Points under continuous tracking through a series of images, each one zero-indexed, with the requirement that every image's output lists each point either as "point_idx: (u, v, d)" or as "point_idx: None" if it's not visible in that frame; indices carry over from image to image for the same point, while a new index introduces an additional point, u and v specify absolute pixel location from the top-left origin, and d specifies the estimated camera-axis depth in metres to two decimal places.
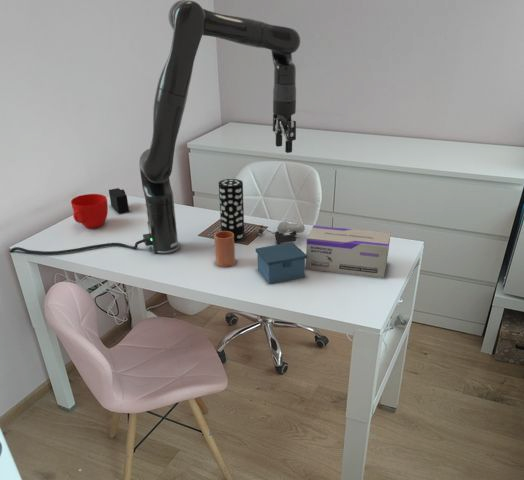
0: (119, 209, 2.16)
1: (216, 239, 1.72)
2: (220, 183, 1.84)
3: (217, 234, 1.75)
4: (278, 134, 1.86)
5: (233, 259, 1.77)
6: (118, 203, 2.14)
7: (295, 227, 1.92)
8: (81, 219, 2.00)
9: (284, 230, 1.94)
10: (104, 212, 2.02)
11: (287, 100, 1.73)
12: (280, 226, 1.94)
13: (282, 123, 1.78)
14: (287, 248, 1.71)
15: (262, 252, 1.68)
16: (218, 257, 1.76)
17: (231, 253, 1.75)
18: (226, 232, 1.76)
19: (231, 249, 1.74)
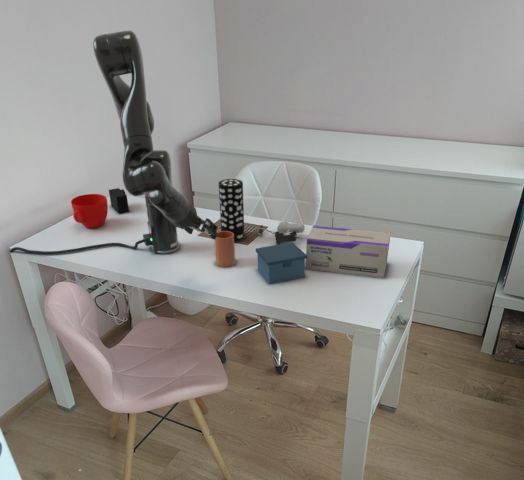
0: (119, 209, 2.16)
1: (216, 239, 1.72)
2: (220, 183, 1.84)
3: None
4: None
5: (233, 259, 1.77)
6: (118, 203, 2.14)
7: (295, 227, 1.92)
8: (81, 219, 2.00)
9: (284, 230, 1.94)
10: (104, 212, 2.02)
11: (187, 213, 1.47)
12: (280, 226, 1.94)
13: (193, 226, 1.54)
14: (287, 248, 1.71)
15: (262, 252, 1.68)
16: (218, 257, 1.76)
17: (231, 253, 1.75)
18: (226, 232, 1.76)
19: (231, 249, 1.74)
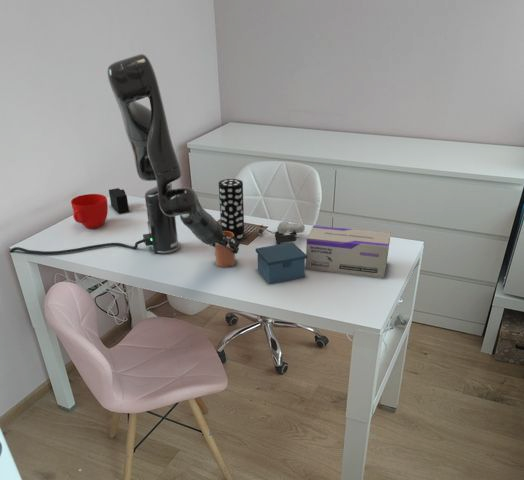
0: (119, 209, 2.16)
1: None
2: (220, 183, 1.84)
3: None
4: None
5: (233, 259, 1.77)
6: (118, 203, 2.14)
7: (295, 227, 1.92)
8: (81, 219, 2.00)
9: (284, 230, 1.94)
10: (104, 212, 2.02)
11: (215, 231, 1.61)
12: (280, 226, 1.94)
13: (219, 243, 1.68)
14: (287, 248, 1.71)
15: (262, 252, 1.68)
16: (218, 257, 1.76)
17: (231, 253, 1.75)
18: (226, 232, 1.76)
19: None
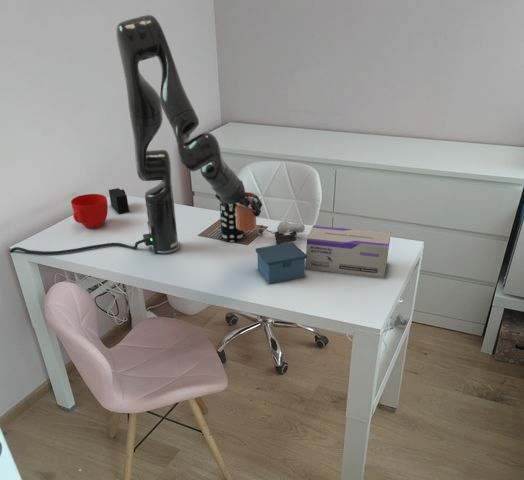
0: (119, 209, 2.16)
1: None
2: None
3: None
4: (234, 204, 1.65)
5: (254, 222, 1.66)
6: (118, 203, 2.14)
7: (295, 227, 1.92)
8: (81, 219, 2.00)
9: (284, 230, 1.94)
10: (104, 212, 2.02)
11: (237, 188, 1.50)
12: (280, 226, 1.94)
13: (241, 202, 1.57)
14: (287, 248, 1.71)
15: (262, 252, 1.68)
16: (239, 220, 1.64)
17: (253, 215, 1.64)
18: (247, 193, 1.65)
19: None
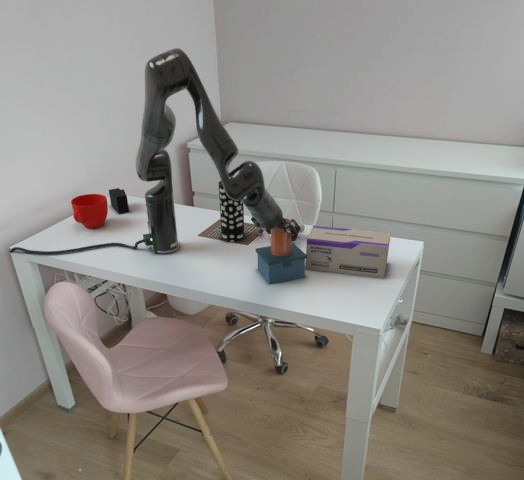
0: (119, 209, 2.16)
1: None
2: (220, 183, 1.84)
3: None
4: None
5: (289, 248, 1.66)
6: (118, 203, 2.14)
7: None
8: (81, 219, 2.00)
9: None
10: (104, 212, 2.02)
11: (276, 214, 1.50)
12: None
13: (278, 227, 1.57)
14: None
15: (262, 252, 1.68)
16: (274, 246, 1.65)
17: (288, 241, 1.64)
18: None
19: (288, 237, 1.63)
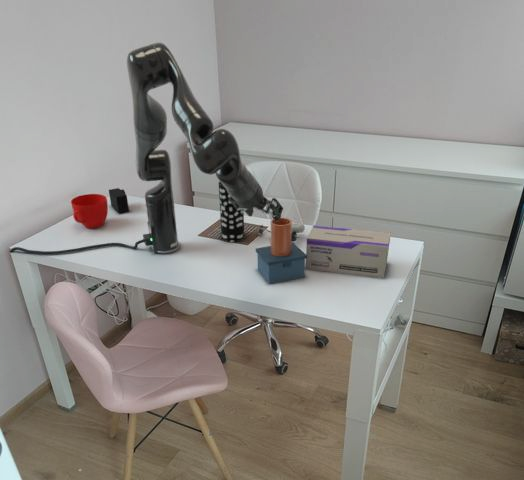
0: (119, 209, 2.16)
1: (273, 226, 1.61)
2: (220, 183, 1.84)
3: (273, 221, 1.64)
4: None
5: (289, 248, 1.66)
6: (118, 203, 2.14)
7: (295, 227, 1.92)
8: (81, 219, 2.00)
9: None
10: (104, 212, 2.02)
11: (255, 191, 1.36)
12: None
13: (258, 207, 1.43)
14: None
15: (262, 252, 1.68)
16: (274, 246, 1.65)
17: (288, 241, 1.64)
18: (282, 219, 1.65)
19: (288, 237, 1.63)
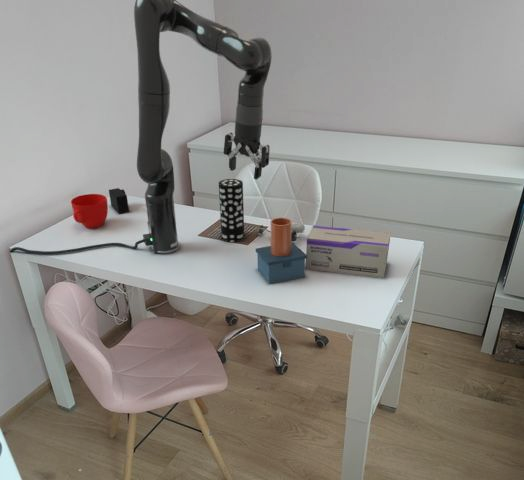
0: (119, 209, 2.16)
1: (273, 226, 1.61)
2: (220, 183, 1.84)
3: (273, 221, 1.64)
4: (233, 157, 1.61)
5: (289, 248, 1.66)
6: (118, 203, 2.14)
7: (295, 227, 1.92)
8: (81, 219, 2.00)
9: None
10: (104, 212, 2.02)
11: (259, 123, 1.50)
12: None
13: (250, 148, 1.54)
14: None
15: (262, 252, 1.68)
16: (274, 246, 1.65)
17: (288, 241, 1.64)
18: (282, 219, 1.65)
19: (288, 237, 1.63)
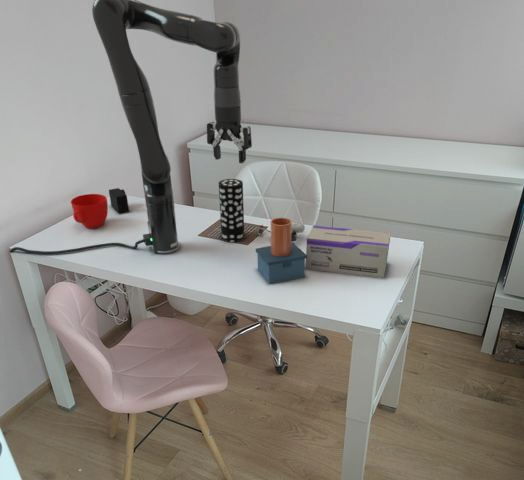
0: (119, 209, 2.16)
1: (273, 226, 1.61)
2: (220, 183, 1.84)
3: (273, 221, 1.64)
4: (217, 145, 1.63)
5: (289, 248, 1.66)
6: (118, 203, 2.14)
7: (295, 227, 1.92)
8: (81, 219, 2.00)
9: None
10: (104, 212, 2.02)
11: (237, 105, 1.53)
12: None
13: (231, 131, 1.57)
14: None
15: (262, 252, 1.68)
16: (274, 246, 1.65)
17: (288, 241, 1.64)
18: (282, 219, 1.65)
19: (288, 237, 1.63)
